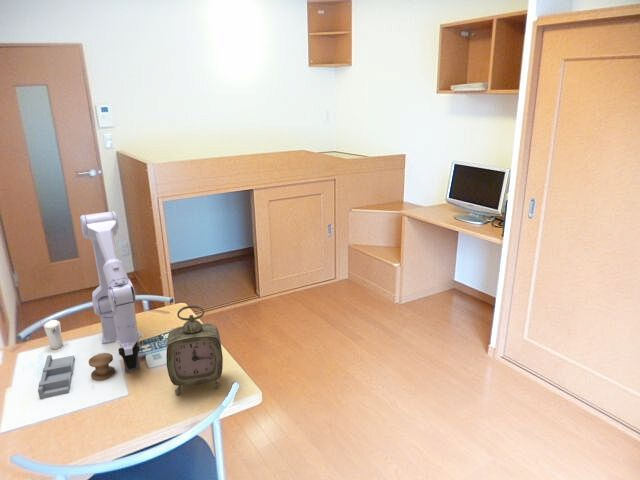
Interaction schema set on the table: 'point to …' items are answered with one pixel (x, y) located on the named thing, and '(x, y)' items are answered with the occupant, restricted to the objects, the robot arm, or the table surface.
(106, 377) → the spool
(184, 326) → the tabletop clock
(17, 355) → the table surface
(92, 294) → the robot arm
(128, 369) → the dark grey block
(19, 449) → the table surface
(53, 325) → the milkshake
